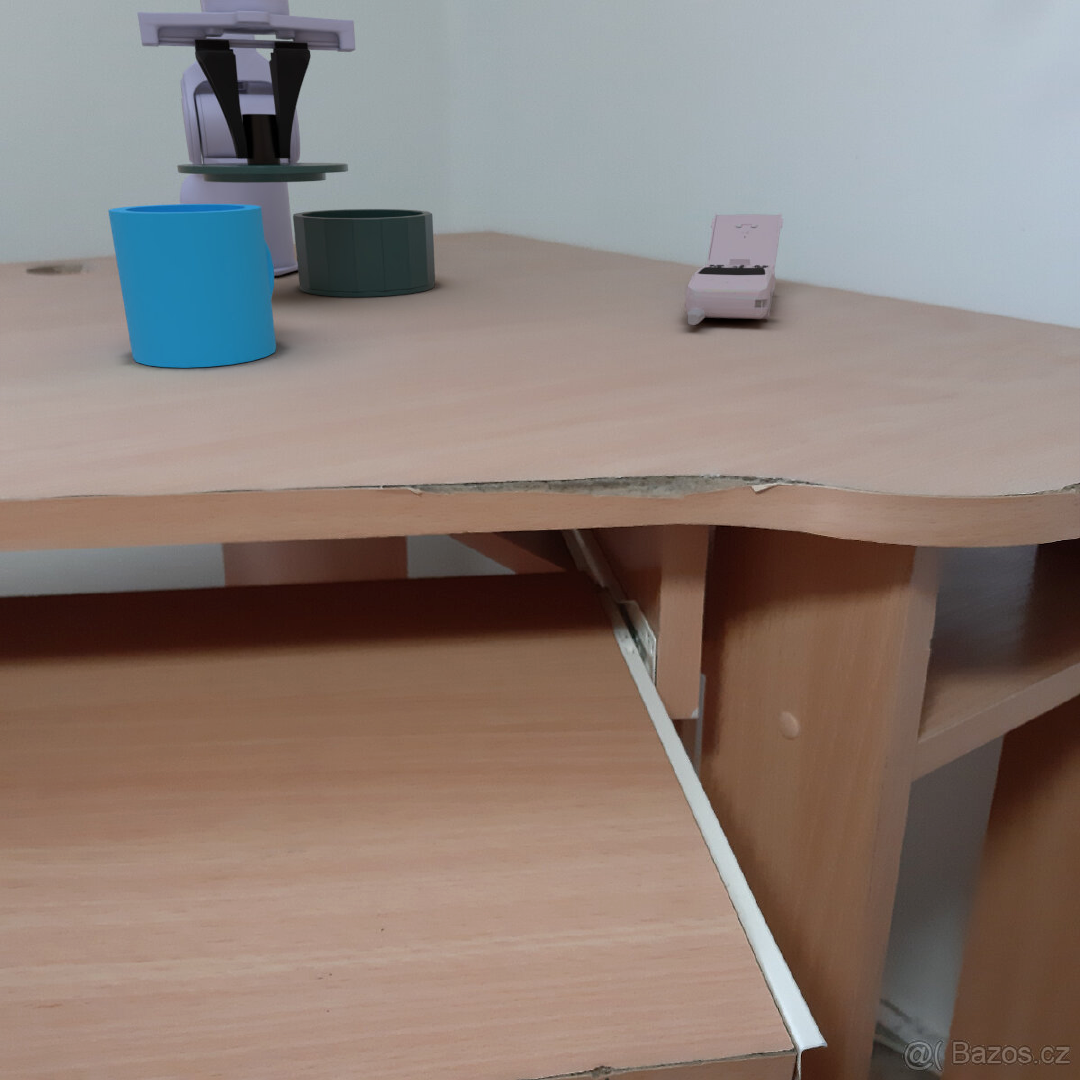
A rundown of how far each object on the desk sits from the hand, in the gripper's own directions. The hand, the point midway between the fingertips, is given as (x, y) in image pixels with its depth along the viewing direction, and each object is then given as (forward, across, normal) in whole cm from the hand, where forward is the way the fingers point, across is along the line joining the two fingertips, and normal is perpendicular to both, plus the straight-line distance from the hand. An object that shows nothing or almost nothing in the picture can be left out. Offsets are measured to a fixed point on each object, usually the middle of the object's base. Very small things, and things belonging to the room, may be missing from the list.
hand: (263, 158), depth 71 cm
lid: (+1, 0, 0) cm, 1 cm away
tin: (+10, +8, +6) cm, 14 cm away
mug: (+11, -5, -17) cm, 20 cm away
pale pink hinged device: (+11, +33, -13) cm, 37 cm away
